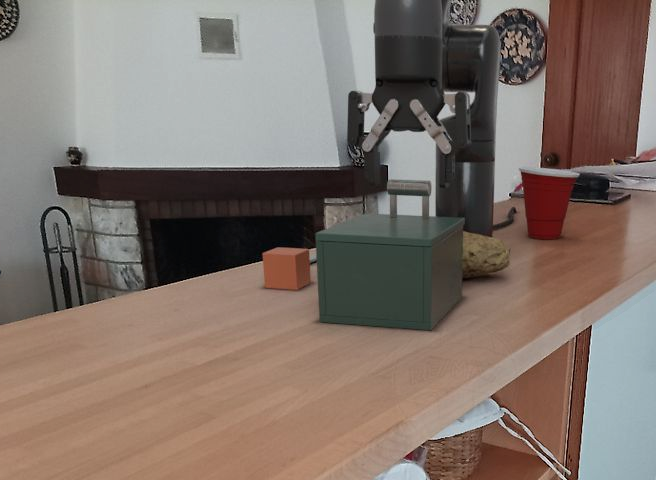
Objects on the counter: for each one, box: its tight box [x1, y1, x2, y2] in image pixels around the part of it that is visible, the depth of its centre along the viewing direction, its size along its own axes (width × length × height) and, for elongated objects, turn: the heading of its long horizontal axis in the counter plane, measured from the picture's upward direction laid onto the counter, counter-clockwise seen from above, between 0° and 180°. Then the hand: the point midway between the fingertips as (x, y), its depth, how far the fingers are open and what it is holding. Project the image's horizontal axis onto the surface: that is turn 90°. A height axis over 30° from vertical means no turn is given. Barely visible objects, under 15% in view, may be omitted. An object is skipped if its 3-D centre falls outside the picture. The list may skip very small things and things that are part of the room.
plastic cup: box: [518, 166, 581, 240], centre depth 140 cm, size 11×11×12 cm
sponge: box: [462, 231, 511, 279], centre depth 107 cm, size 13×8×20 cm
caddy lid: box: [315, 178, 465, 247], centre depth 87 cm, size 16×13×5 cm
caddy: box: [315, 226, 463, 331], centre depth 90 cm, size 16×13×9 cm
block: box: [262, 246, 312, 291], centre depth 101 cm, size 4×4×4 cm
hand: (409, 186), depth 92 cm, fingers open, 8 cm apart
